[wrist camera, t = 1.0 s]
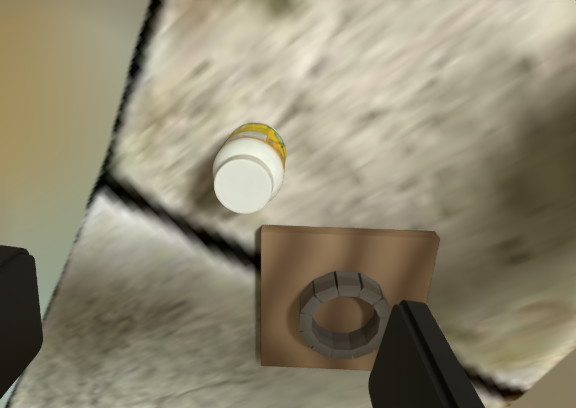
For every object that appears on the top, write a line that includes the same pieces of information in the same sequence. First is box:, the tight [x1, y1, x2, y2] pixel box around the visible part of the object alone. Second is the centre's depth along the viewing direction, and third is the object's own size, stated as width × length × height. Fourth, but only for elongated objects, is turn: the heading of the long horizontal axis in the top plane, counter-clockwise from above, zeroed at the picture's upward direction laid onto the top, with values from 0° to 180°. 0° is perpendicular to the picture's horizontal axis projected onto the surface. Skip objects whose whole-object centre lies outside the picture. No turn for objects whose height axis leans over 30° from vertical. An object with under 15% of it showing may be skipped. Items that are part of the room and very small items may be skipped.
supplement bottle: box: [213, 122, 286, 214], centre depth 30 cm, size 5×5×10 cm
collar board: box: [261, 225, 440, 370], centre depth 38 cm, size 17×17×4 cm
